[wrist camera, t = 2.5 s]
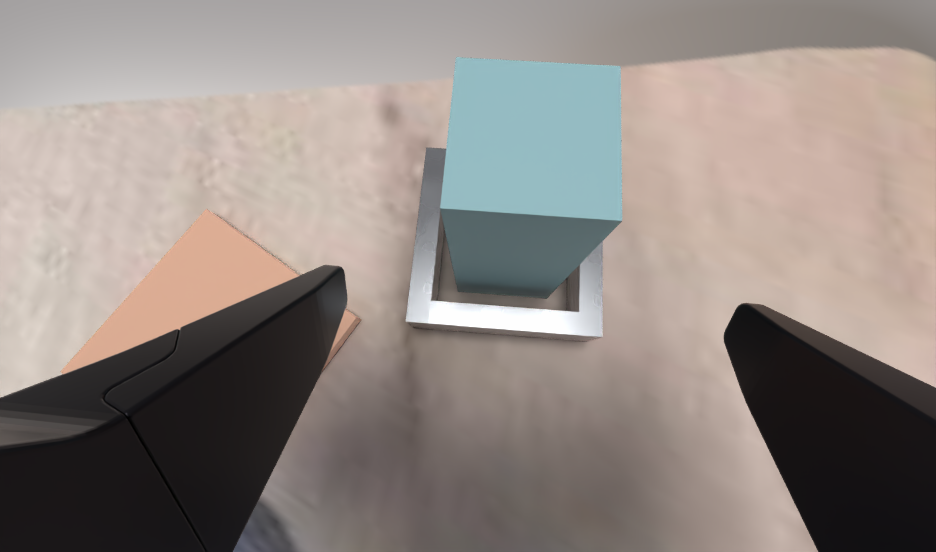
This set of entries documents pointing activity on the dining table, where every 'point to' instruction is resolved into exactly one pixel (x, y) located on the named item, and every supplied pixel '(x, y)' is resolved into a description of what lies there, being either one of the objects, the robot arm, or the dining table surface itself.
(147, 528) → the robot arm
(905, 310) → the dining table surface
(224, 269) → the terracotta tile
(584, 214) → the teal peg
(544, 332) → the square socket
